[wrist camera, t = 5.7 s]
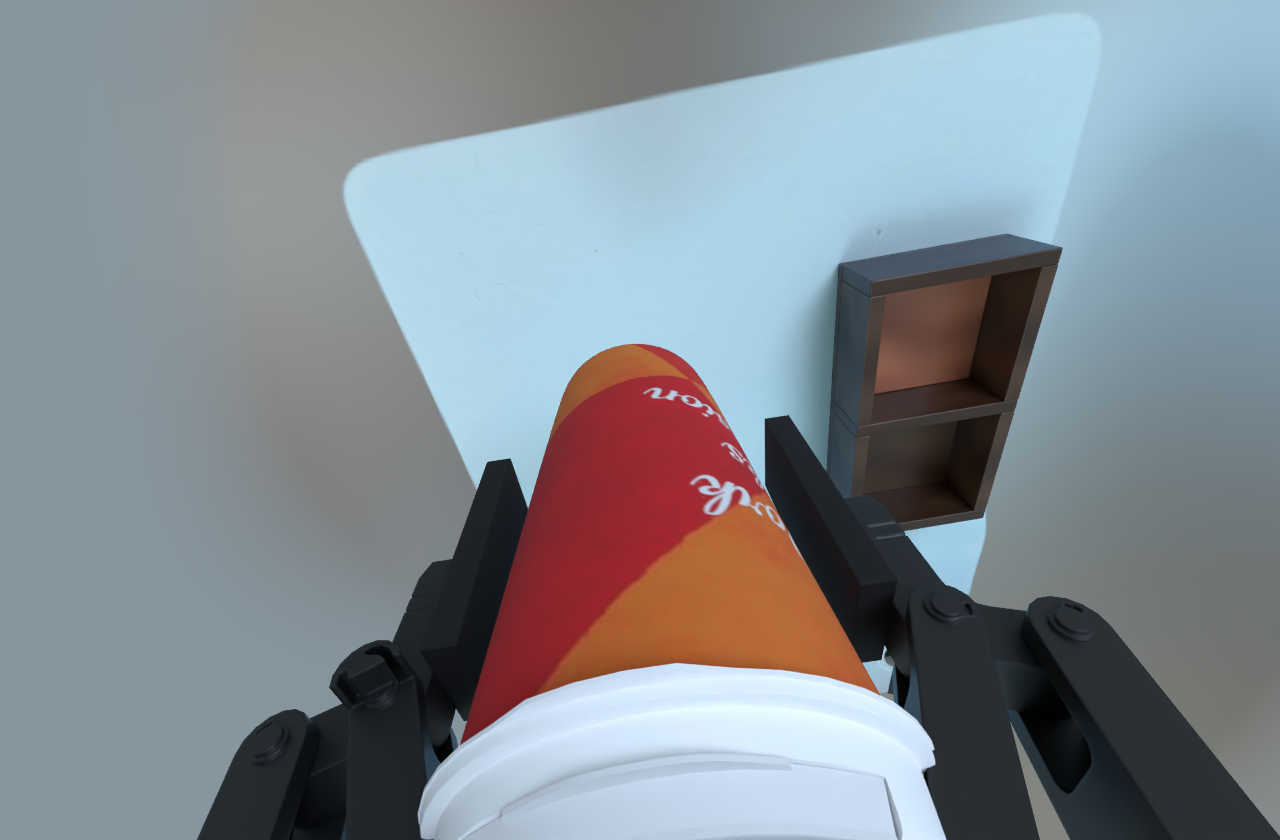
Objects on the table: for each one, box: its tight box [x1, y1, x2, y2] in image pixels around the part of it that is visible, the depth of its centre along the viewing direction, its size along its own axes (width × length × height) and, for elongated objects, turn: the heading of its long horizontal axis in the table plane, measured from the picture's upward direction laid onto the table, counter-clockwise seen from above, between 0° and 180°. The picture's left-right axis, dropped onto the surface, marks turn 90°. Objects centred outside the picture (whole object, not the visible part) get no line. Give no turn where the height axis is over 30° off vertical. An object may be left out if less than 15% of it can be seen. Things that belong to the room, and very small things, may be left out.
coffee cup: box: [418, 344, 946, 840], centre depth 13 cm, size 8×8×15 cm
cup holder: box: [827, 234, 1062, 531], centre depth 36 cm, size 22×12×5 cm, turn 9°
